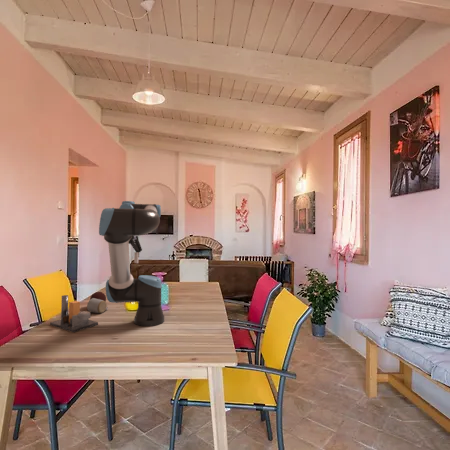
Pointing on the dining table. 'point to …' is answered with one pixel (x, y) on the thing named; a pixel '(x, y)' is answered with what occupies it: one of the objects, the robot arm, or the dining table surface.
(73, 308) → the orange rectangular block
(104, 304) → the ceramic mug
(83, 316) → the grey rock
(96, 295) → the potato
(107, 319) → the dining table surface
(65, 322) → the dark block with post
